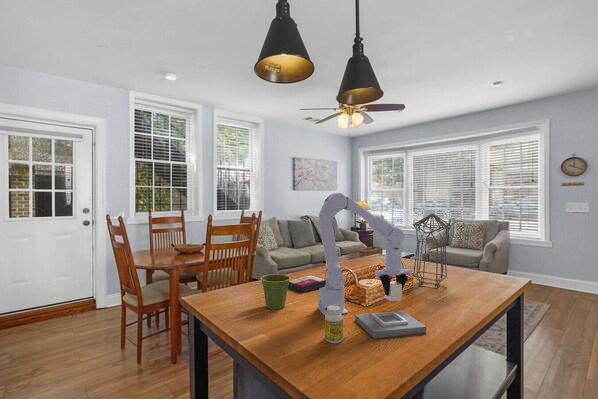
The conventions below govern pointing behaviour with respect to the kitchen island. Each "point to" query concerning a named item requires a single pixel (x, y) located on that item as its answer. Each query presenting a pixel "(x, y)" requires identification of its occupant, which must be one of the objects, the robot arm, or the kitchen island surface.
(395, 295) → the cream block
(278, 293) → the plant pot
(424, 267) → the geometric lantern
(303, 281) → the dark product box
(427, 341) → the kitchen island surface
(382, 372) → the kitchen island surface
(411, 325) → the display plinth
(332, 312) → the supplement bottle
